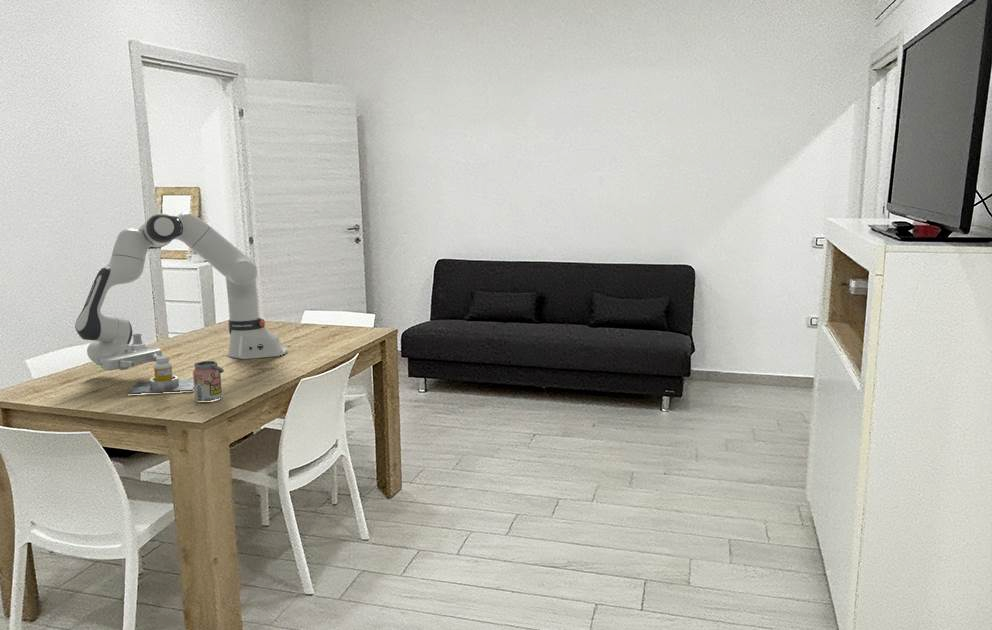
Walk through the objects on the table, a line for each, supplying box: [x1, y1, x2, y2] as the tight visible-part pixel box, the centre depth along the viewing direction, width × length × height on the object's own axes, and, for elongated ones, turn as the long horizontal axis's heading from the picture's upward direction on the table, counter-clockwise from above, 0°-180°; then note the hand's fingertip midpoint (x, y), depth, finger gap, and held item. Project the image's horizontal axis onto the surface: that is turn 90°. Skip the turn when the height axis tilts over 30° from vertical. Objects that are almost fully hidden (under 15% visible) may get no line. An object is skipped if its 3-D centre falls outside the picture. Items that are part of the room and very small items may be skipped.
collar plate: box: [126, 374, 194, 395], centre depth 264 cm, size 20×14×4 cm
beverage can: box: [192, 360, 224, 402], centre depth 250 cm, size 9×8×12 cm
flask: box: [132, 333, 144, 344], centre depth 305 cm, size 7×7×10 cm
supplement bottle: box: [153, 355, 173, 381], centre depth 263 cm, size 5×5×10 cm
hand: (145, 361), depth 268 cm, fingers open, 8 cm apart
